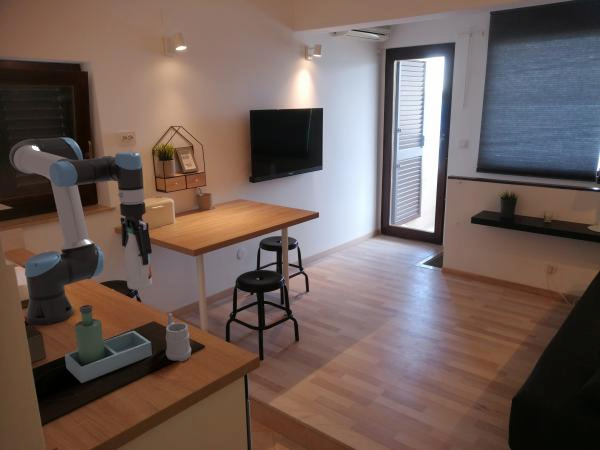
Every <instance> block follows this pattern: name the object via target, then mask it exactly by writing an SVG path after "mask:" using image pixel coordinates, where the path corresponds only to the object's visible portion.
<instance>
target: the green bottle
mask: <svg viewBox="0 0 600 450" xmlns="http://www.w3.org/2000/svg"><path fill="white" fill-rule="evenodd" d="M78 309H79V312H80V314H81V321H78V322H77V323H76V324H75V325H74V333H75V339H76V346H77V350H78V357H79V365H80V366H81V367H82V366H85V365H88V364H90V363H93V362H96V361H98V360H101V359H104V358H105V352H104V343H103V341H104V337H103V326H102V321H101V320H100V319H96V318H93V310H94V308H93V305H91V304H86V305H81V306H80V307H79V308H78Z"/></svg>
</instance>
